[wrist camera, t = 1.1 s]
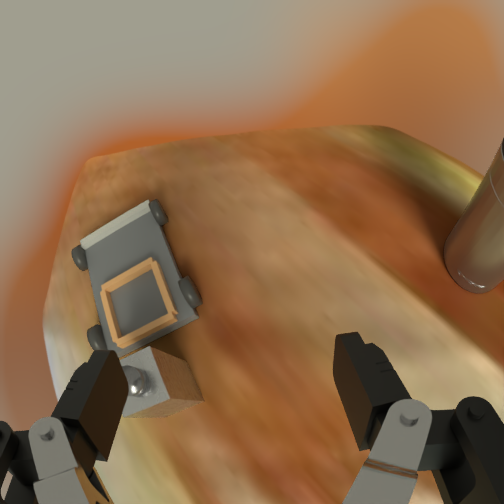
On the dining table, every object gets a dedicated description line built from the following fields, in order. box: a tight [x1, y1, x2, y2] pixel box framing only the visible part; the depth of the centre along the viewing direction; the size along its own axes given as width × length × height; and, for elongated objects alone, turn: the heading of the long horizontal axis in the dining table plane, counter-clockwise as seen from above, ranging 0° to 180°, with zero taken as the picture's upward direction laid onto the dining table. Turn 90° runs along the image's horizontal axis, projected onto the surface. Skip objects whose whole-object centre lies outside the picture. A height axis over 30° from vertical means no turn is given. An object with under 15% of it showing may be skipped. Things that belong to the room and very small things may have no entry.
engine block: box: [120, 346, 204, 418], centre depth 28 cm, size 5×5×10 cm
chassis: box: [72, 199, 203, 358], centre depth 38 cm, size 18×14×4 cm
